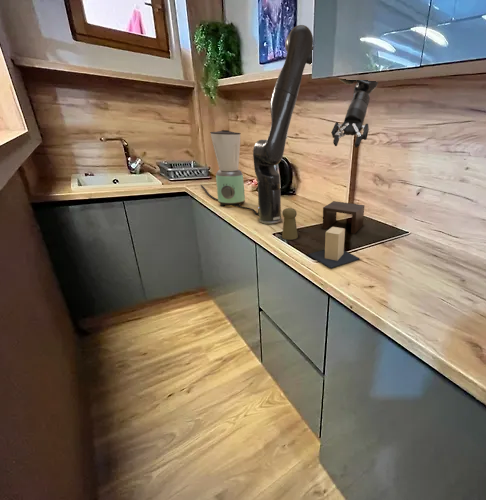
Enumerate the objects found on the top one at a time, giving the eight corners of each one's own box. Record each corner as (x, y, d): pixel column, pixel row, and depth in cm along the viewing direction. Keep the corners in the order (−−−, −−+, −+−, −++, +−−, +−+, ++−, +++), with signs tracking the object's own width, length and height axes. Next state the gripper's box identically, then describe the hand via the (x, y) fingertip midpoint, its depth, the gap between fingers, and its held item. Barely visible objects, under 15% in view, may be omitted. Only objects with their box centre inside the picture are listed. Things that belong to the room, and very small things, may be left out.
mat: (308, 255, 100) (308, 254, 100) (336, 247, 107) (336, 246, 107) (330, 269, 92) (330, 267, 92) (359, 259, 99) (359, 258, 99)
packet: (324, 258, 98) (325, 232, 94) (331, 251, 103) (332, 226, 99) (337, 260, 96) (338, 234, 93) (343, 254, 101) (345, 228, 98)
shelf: (332, 220, 136) (333, 201, 133) (362, 225, 132) (364, 205, 128) (322, 228, 126) (323, 207, 122) (354, 233, 121) (356, 212, 118)
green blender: (242, 208, 148) (236, 131, 134) (214, 208, 146) (205, 130, 133) (248, 199, 165) (243, 130, 151) (223, 198, 164) (216, 129, 150)
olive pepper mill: (295, 240, 112) (294, 211, 108) (279, 238, 113) (278, 210, 109) (299, 235, 118) (299, 207, 113) (285, 233, 119) (284, 205, 114)
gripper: (374, 122, 125) (364, 153, 119) (341, 120, 129) (330, 150, 124) (372, 107, 118) (361, 139, 112) (337, 106, 122) (326, 137, 117)
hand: (345, 145), depth 118 cm, fingers open, 8 cm apart
